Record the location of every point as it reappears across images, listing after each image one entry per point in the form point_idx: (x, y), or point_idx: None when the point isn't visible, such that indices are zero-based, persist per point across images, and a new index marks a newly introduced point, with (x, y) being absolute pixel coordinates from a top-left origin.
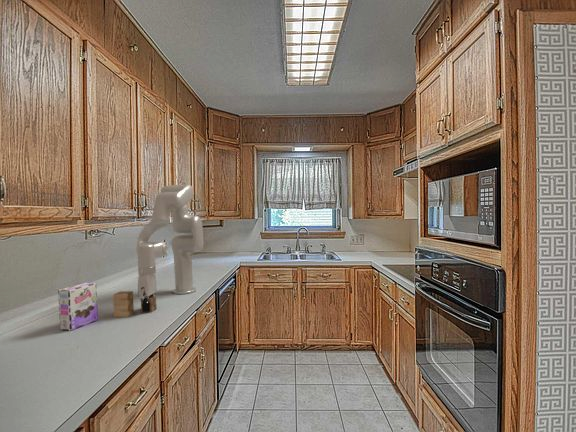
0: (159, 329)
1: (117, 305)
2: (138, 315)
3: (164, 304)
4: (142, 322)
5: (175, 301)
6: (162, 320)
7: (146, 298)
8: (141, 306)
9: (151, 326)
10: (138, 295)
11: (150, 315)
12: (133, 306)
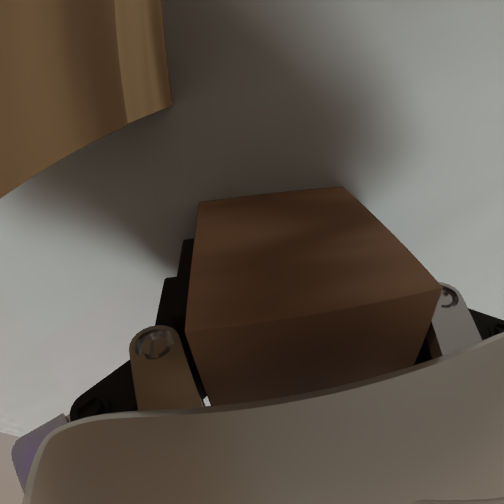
0: (11, 428)
1: None
2: (87, 242)
3: (463, 279)
4: (2, 356)
5: (497, 308)
6: None
7: (277, 386)
8: (194, 247)
9: (5, 404)
10: (38, 453)
11: (125, 346)
12: (150, 113)
